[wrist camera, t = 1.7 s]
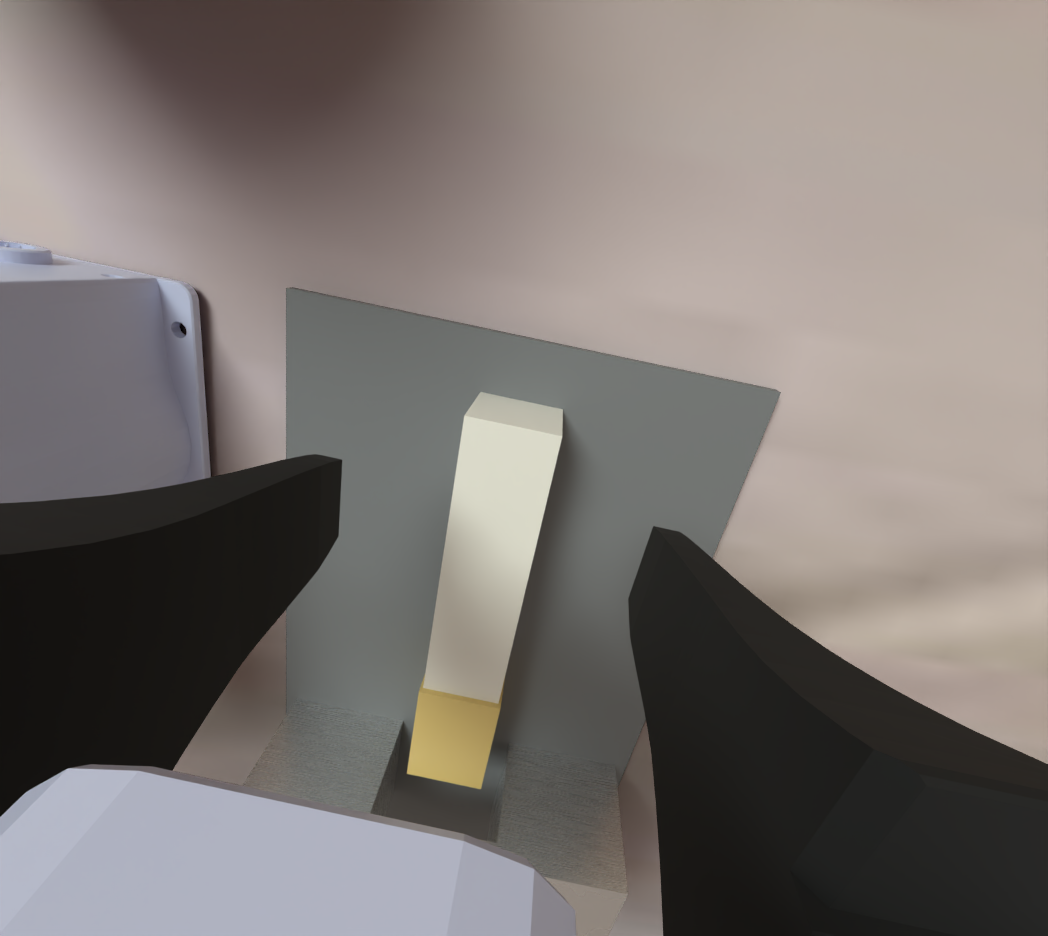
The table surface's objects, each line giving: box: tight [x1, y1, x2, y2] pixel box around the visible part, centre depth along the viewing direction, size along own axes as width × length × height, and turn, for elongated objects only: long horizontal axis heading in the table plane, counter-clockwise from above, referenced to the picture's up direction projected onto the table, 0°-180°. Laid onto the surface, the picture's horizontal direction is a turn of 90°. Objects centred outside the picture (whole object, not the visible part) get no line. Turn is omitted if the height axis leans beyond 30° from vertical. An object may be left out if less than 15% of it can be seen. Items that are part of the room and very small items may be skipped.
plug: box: [407, 392, 563, 789], centre depth 18 cm, size 16×3×3 cm, turn 169°
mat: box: [286, 287, 781, 840], centre depth 23 cm, size 37×16×1 cm, turn 169°
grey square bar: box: [243, 699, 628, 936], centre depth 21 cm, size 5×15×5 cm, turn 79°
